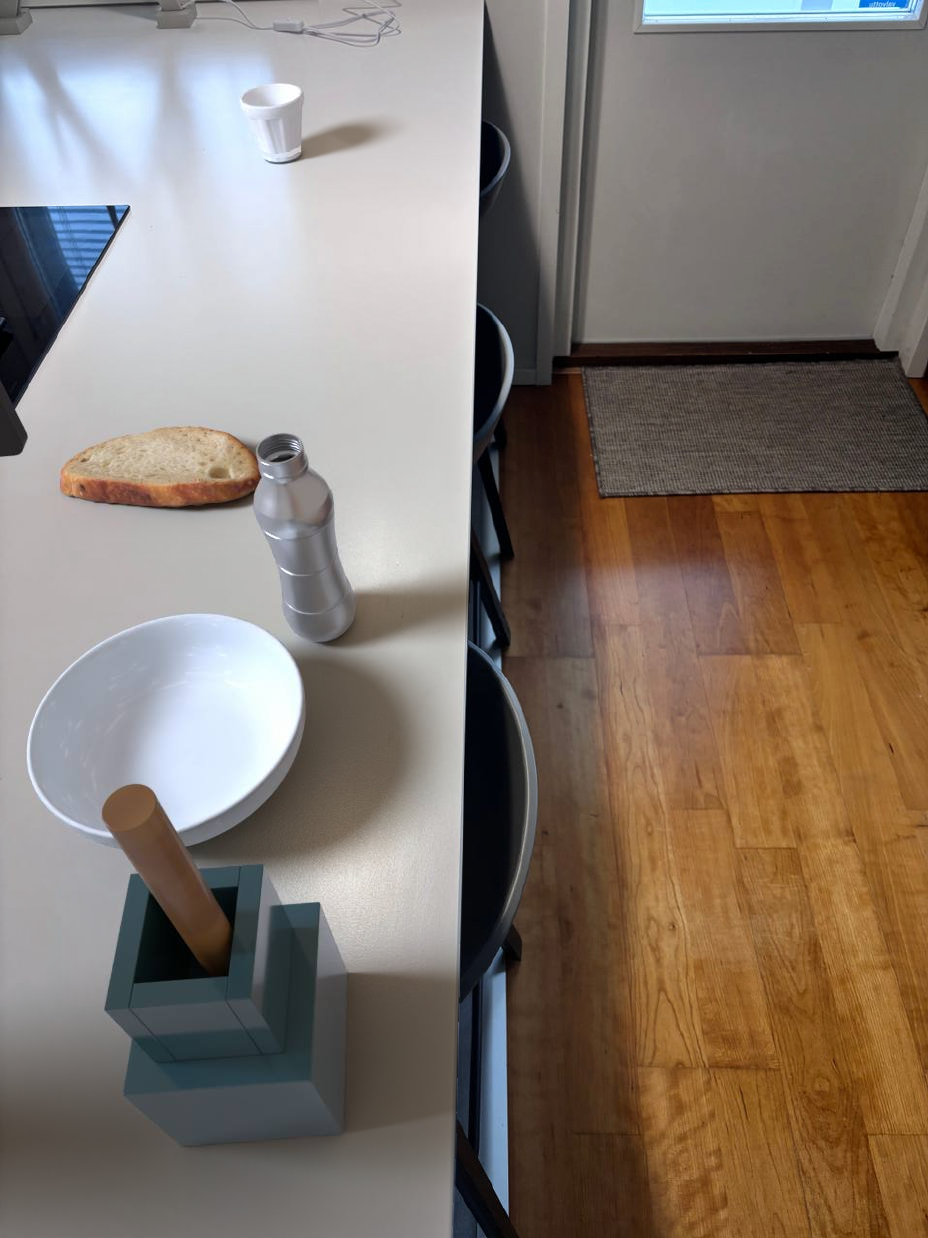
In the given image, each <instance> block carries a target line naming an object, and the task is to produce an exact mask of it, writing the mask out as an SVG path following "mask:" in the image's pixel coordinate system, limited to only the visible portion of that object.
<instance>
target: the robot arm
mask: <svg viewBox="0 0 928 1238" xmlns="http://www.w3.org/2000/svg"><path fill="white" fill-rule="evenodd" d="M28 439H29V436H28V432H27V431H26V429H25V427H24V425H23V422H22V420H21V418H20V416H19V415H18V412H17V410H16V407H14V403H13V402H12V400H11V399H10V396H9V394H8V392H7V391H6V389H5V386H4V385H3V383H2V381H1V379H0V458H4V457H5V458H6V457H14V456H19V455H21V454H22V453H23V451H24V449H25V447H26V443H27V442H28Z"/></svg>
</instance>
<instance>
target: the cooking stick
mask: <svg viewBox="0 0 928 1238" xmlns="http://www.w3.org/2000/svg"><path fill="white" fill-rule="evenodd" d="M102 820H103V822H104V824H105V825H106V827H107V828H108V830H109V831H110V833H111V834H112V836H113V837H114V839H115V840H116V842H117V843H118V844H119V846H120V847H121V849H120V850H121V851H122V852H123V853H124V855H125V856H126V858H127V859H128V861H129V862H130V864H131V865H132V867H133V868H134V869H135V871H136V873H138V874H139V875H140V877H141V878H142V880H143V881H144V882H145V884H146V885H147V887H148V888H149V890H150V891H151V893H152V894H153V896H154V897H155V899H156V900H157V901H158V903H159V904H160V906H161V907H162V909H163V910H164V912H165V913H166V915H167V916H168V918H169V919H170V920H171V922H172V923H173V925H174V926H175V928H176V929H177V931H178V932H179V934H180V935H181V937H182V938H183V939H184V941H185V942H186V944H187V945H188V947H189V948H190V950H191V951H192V953H193V954H194V956H195V957H196V958H197V960H198V961H199V963H200V964H201V966H202V967H203V969H204V970H205V972H206V973H207V975H208V976H209V977H210V978H212V977H225V976H228V977H229V969H230V960H231V951H232V942H233V933H234V930H233V928H232V926H231V925H230V923H229V921H228V919H227V918H226V916H225V914H224V913H223V911H222V909H221V907H220V906H219V904H218V902H217V900H216V899H215V897H214V895H213V893H212V892H211V890H210V888H209V887H208V885H207V883H206V881H205V880H204V878H203V876H202V874H201V873H200V871H199V869H200V868H199V867H198V865H197V864H196V863H195V860H194V859H193V857H192V855H191V853H190V852H189V850H188V848H187V846H186V847H185V845H184V843H183V841H182V840H181V838H180V836H179V835H178V833H177V831H176V829H175V828H174V826H173V824H172V822H171V821H170V819H169V817H168V815H167V814H166V812H165V810H164V809H163V807H162V805H161V803H160V802H159V800H158V798H157V796H156V795H155V793H154V792H153V790H152V789H151V788H149V787H147V786H145V785H142V784H130V785H126V786H123V787H121V788H119V789H117V790H116V791H115V792H113V793H112V794H111V795H110V796H109V797H108V798H107V800H106V801H105V803H104V805H103V808H102Z"/></svg>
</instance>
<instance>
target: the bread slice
mask: <svg viewBox="0 0 928 1238" xmlns="http://www.w3.org/2000/svg"><path fill="white" fill-rule="evenodd" d="M261 478H262V476H261V474H260V471H259V467H258V460H257V456H256V453H254V452H253V451H252V450H251V449H250V448H249V447H248V446H247V445H246V444H245V443H243V442H242V441H241V440H240V439H238V438H237V437H236V436H235V435H233V434H231V433H229V432H226V431H223V430H216V429H212V428H206V427H203V426H190V425H189V426H188V425H187V426H169V427H167V426H165V427H160V428H156V429H153V430H151V431H147V432H141V433H135V434H127V435H124V436H119V437H115V438H111V439H108V440H106V441H104V442H102V443H101V442H100V443H98V444H96V445H93V446H89V447H88V448H86V449H84V450H83V451H81V452H79V453H77V454H76V455H75V456H73V457H72V458H69V460H67V462H66V463H65V464H64V465H63V467H62V468H61V470H60V478H59V488H60V489H59V490H60V492H61V494H62V495H65V496H67V497H76V498H77V499H80V500H87V501H89V502H93V503H96V502H102V503H104V504H115V503H116V504H119V505H134V506H140V507H148V506H149V507H160V508H161V507H172V508H182V507H186V506H197V507H198V506H203V505H206V504H219V503H227V502H230V501H234V500H238V499H241V498H244V497H246V496H248V495H250V494H251V493H252V492H255V491H256V488H257V486H258V484H259V482H260V480H261Z"/></svg>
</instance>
